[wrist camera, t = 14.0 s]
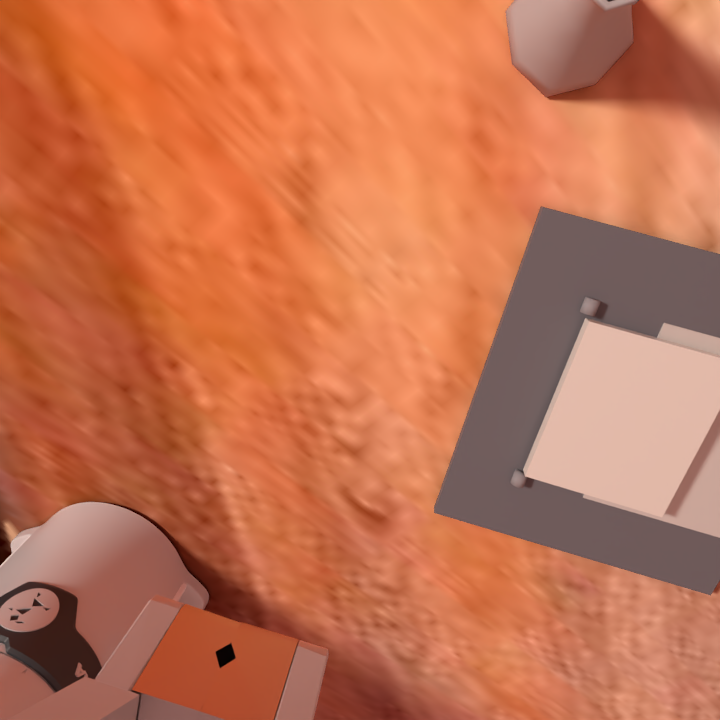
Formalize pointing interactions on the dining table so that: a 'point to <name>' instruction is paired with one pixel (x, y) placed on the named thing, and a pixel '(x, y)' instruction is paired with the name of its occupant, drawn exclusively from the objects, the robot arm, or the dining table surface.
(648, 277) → the board
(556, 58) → the flask
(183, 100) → the dining table surface
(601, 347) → the tile
